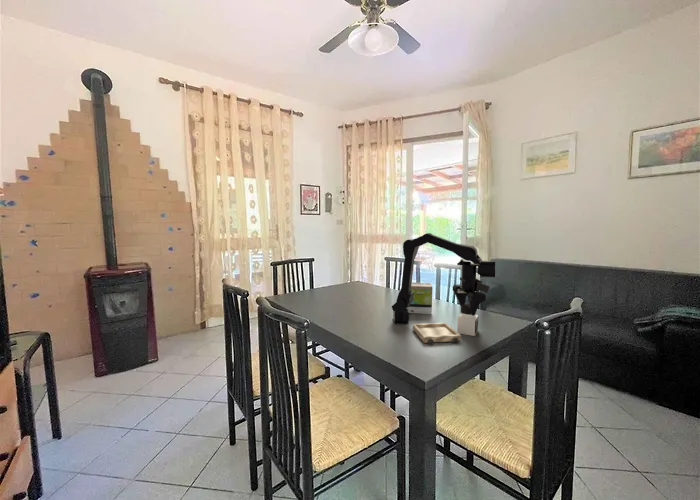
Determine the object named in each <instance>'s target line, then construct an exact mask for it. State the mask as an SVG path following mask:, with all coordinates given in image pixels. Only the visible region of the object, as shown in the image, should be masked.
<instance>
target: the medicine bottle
mask: <svg viewBox="0 0 700 500" xmlns="http://www.w3.org/2000/svg"><path fill="white" fill-rule="evenodd" d="M456 332H458V333H459V334H460V335H467V336H470V337H476V335H477V333H478V332H479V315H478V314H477V312H476V313H475V315H474V316H472V314H471V311H470V307H469V304H468V303H465V304H463V305H461V306H460V314H459V315H458V317H457V330H456Z"/></svg>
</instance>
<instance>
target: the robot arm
mask: <svg viewBox="0 0 700 500" xmlns="http://www.w3.org/2000/svg"><path fill="white" fill-rule="evenodd" d="M427 243H428V244H431V245H433V246H437V247H439V248H441V249H444V250H446V251H449V252H452V253H453V254H455V255H456V256H458V257H459V258H461V259H460V260H459V261H458V262H457V263H456V266H461V277H459V281H461V283H460V284H459V283H458V284H453V286H452V292H453V294H454V295H455V297H456V300H457V301H458V304H459V306H460V307H461V305H463V304H466V301H467V304H469V307H470V311H471V314H472V316H474V315H475V313H476V314H477V310H478V308H479V307H480V304H482V303H484V302H486V301H487V300H488V299H487V294H489V290H490V288H491V286H490V285H487V284H485V283H483V281H482V280H480V279H478V278H477V275H478V276H480V277H481V278H491V279H496V277H497V263H496V260H490V261H488V260H482V258H481V257H480V255H479V254H478V250H477V248H476V247H475V246H473V245H468V244H462V243H456V242H454V241H451V240H448V239H445V238H443V237H440V236H437V235H435V234H432V233H431V232H428V233H424V234H423V235H421V236H418V237H416V238H410V239H406V240H405V241H404V242H403V243H402V252H403V255H404V262H403V272H402V280H401V288H400V290H399V292H398V294H397V297H396V302H394V304H392V305H391V309H392V311H393V317H392V322H393V323H394V325H404V324H409V323H410V322H409V321H410V313H409V312H408V309H407V307H408V306H409V305H410V304H411V303H412V301H413V300H414V293H415V292H412V291H411V283H413V282H412V281H413V273H414V266H415V259H416V256H417V254H418V252H419V249H420V247H421V246H424V245H426V244H427Z"/></svg>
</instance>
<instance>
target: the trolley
mask: <svg viewBox="0 0 700 500" xmlns="http://www.w3.org/2000/svg"><path fill="white" fill-rule="evenodd" d="M412 330H413V331H414V333H416V335H417V336H418V337H419V338H420V339H421V341H422V342H423V343H426V344H427V343H428V344H429V345H434V343H444V342H445V343H446V342H453V343H454V344H458V342H460V341H462V334H459V333H458V332H457V330H455V329H454V328H453V327H452V326H450V325H449V324H448V323H447V322H434V323H433V322H431V323H429V322H428V323H413V324H412Z"/></svg>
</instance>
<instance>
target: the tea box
mask: <svg viewBox="0 0 700 500" xmlns="http://www.w3.org/2000/svg"><path fill="white" fill-rule="evenodd" d="M411 291H412V292H415V293H414V300H413V301H412V303H411V304H410V305H409V306H408V307H407V309H408V312H409V314H418V315H420V314H422V315H423V314H425V315H432V312H433V286H432V284H431V283H430V282H412V283H411Z"/></svg>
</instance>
